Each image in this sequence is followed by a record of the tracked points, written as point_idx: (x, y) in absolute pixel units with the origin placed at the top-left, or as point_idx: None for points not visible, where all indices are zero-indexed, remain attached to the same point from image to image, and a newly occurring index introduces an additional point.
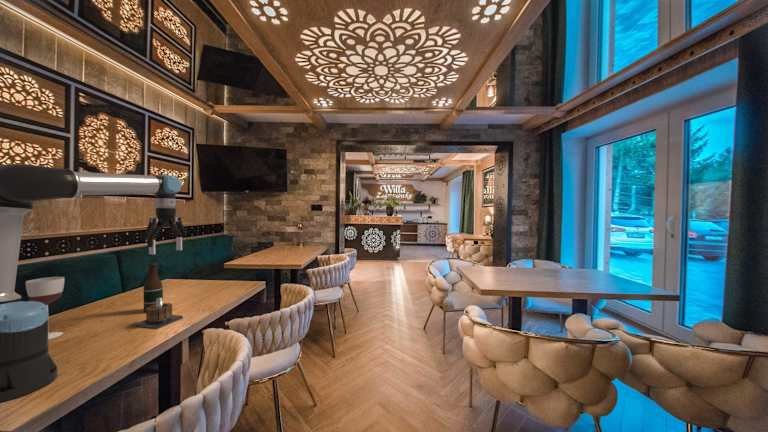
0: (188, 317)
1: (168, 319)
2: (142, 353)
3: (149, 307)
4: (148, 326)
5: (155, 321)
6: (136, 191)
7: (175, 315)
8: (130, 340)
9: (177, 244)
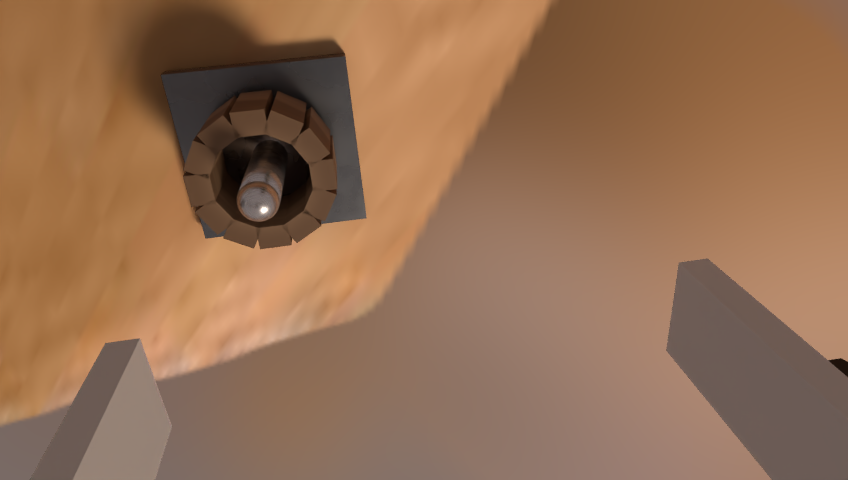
0: (385, 228)
1: None
2: (31, 416)
3: (216, 140)
4: None
5: None
6: None
7: (353, 175)
8: (57, 252)
9: (743, 359)
